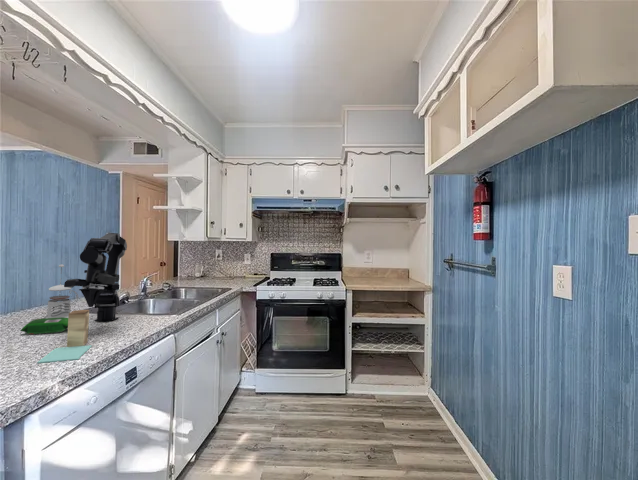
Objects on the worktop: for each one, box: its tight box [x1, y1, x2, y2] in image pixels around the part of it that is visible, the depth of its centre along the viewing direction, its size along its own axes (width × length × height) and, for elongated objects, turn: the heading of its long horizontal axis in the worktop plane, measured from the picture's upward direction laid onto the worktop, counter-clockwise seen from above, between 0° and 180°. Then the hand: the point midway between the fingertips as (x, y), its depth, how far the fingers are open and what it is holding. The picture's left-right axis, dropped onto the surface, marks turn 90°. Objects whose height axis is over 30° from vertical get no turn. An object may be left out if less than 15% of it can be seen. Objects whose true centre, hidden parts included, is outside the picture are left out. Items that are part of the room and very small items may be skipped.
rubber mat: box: [36, 344, 93, 364], centre depth 93 cm, size 12×10×1 cm
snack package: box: [20, 317, 68, 335], centre depth 114 cm, size 7×16×5 cm, turn 112°
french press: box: [45, 264, 79, 318], centre depth 133 cm, size 10×12×25 cm
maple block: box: [66, 309, 90, 347], centre depth 101 cm, size 4×4×12 cm
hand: (90, 307), depth 112 cm, fingers closed
